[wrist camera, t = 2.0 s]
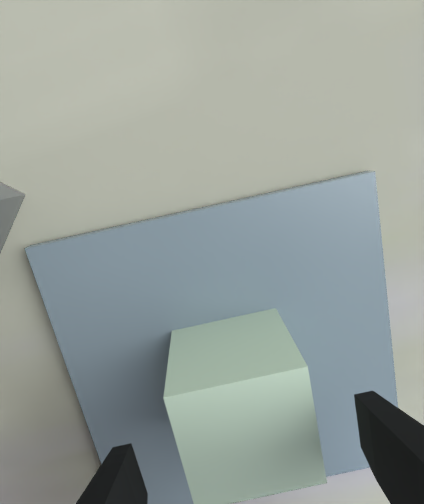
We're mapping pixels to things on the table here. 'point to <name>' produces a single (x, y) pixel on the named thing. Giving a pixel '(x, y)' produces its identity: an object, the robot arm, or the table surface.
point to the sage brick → (242, 409)
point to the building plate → (223, 311)
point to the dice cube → (8, 210)
